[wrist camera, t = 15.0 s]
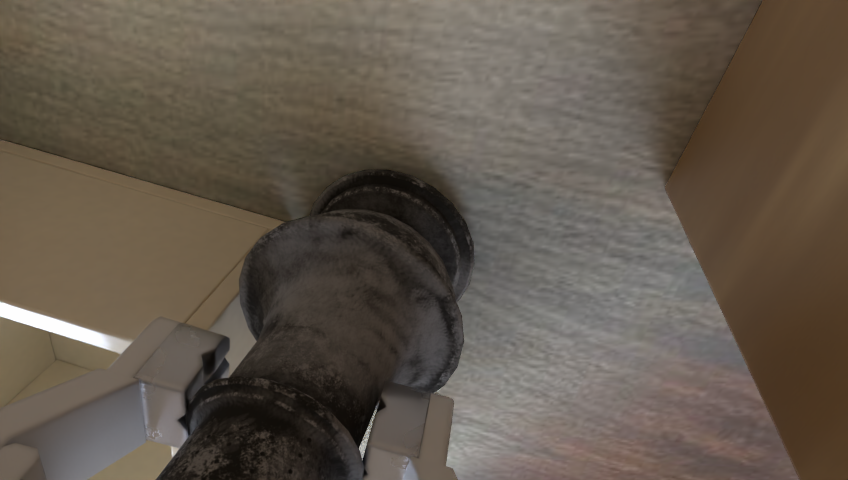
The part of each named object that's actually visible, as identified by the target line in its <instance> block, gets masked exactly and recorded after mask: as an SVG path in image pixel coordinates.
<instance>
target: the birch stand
mask: <svg viewBox="0 0 848 480" xmlns="http://www.w3.org/2000/svg"><path fill="white" fill-rule="evenodd" d="M665 190H666V192H667V194H668V196H669V199H670V201H671V203H672V205H673V207H674V209H675V212H676V214H677V216H678V218H679V220H680V222H681V224H682V227H683V229H684V231H685V233H686V235H687V237H688V240H689V242H690V244H691V246H692V248H693V250H694V253H695V255H696V257H697V259H698V261H699V263H700V266H701V268H702V270H703V272H704V274H705V276H706V278H707V281H708V283H709V285H710V287H711V289H712V291H713V294H714V296H715V298H716V300H717V302H718V304H719V307H720V309H721V311H722V313H723V315H724V317H725V319H726V322H727V324H728V326H729V328H730V330H731V332H732V335H733V337H734V339H735V341H736V343H737V345H738V348H739V350H740V352H741V354H742V356H743V358H744V361H745V363H746V365H747V367H748V369H749V371H750V373H751V376H752V378H753V380H754V382H755V384H756V386H757V389H758V391H759V393H760V395H761V397H762V399H763V402H764V404H765V406H766V408H767V410H768V412H769V415H770V417H771V419H772V421H773V423H774V425H775V427H776V430H777V432H778V434H779V436H780V438H781V440H782V443H783V445H784V447H785V449H786V451H787V453H788V456H789V458H790V460H791V462H792V464H793V466H794V468H795V471H796V473H797V475H798V477H799V479H800V480H848V0H763V1H762V3H761V5H760V7H759V9H758V11H757V13H756V14H755V16H754V18H753V20H752V22H751V24H750V26H749V28H748V30H747V32H746V34H745V35H744V37H743V39H742V41H741V43H740V45H739V47H738V49H737V51H736V53H735V55H734V56H733V58H732V60H731V62H730V64H729V66H728V68H727V70H726V72H725V74H724V75H723V77H722V79H721V81H720V83H719V85H718V87H717V89H716V91H715V93H714V95H713V96H712V98H711V100H710V102H709V104H708V106H707V108H706V110H705V112H704V114H703V116H702V117H701V119H700V121H699V123H698V125H697V127H696V129H695V131H694V133H693V135H692V136H691V138H690V140H689V142H688V144H687V146H686V148H685V150H684V152H683V154H682V156H681V157H680V159H679V161H678V163H677V165H676V167H675V169H674V171H673V173H672V175H671V177H670V178H669V180H668V182H667V184H666V186H665Z"/></svg>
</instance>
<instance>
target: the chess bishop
mask: <svg viewBox="0 0 848 480" xmlns="http://www.w3.org/2000/svg"><path fill="white" fill-rule="evenodd" d="M474 264H475V262H474V246H473V241H472V238H471V236H470V233H469V230H468V227H467V225H466V222H465V221H464V219H463V218H462V217H461V215H460V214H459V212H458V211H457V209H456V208H455V207H454V205H453V204H452V203H451V202H450V201H449V200H448V199H447V198H445V197H444V196H443V195H442V194H441V193H440V192H438V191H437V190H436V189H435V188H434V187H432V186H430V185H428V184H426V183H424V182H422V181H421V180H419V179H417V178H415V177H413V176H410V175H406V174H402V173H398V172H394V171H390V170H364V171H360V172H356V173H353V174H349V175H346V176H343V177H342V178H340V179H339V180H337V181H336V182H334V183H333V184H331V185H330V186H328V187H327V188H326V189H325V190H324V192H323V193H322V194H321V195H320V197H319V198H318V199H317V200H316V202H315V203H314V205H313V208H312V211H311V213H310V216H308V217H304V218H300V219H296V220H293V221H289V222H285V223H282V224H280V225H279V226H277V227H276V228H274V229H273V230H271V231H270V232H268V233H266V234H265V235H263V236H262V237H261V238H260V239H259V240H258V241H257V242H256V244H255V245H254V246H253V248H252V249H251V250H250V252H249V253H248V254H247V256H246V257H245V260H244V263H243V267H242V270H241V274H240V277H239V293H240V305H241V308H242V311H243V314H244V317H245V320H246V323H247V326H248V328H249V330H250V332H251V333H252V335H253V336H254V338H255V340H256V341H257V342H256V343H255V344H254V346H253V347H252V348H251V350H250V351H249V352H248V353H247V355H246V356H245V357H244V359H243V360H242V361H241V363H240V364H239V365H238V366H237V368H236V369H235V370H234V372H233V373H232V374H231V375H230V377H228V378H221V379H216V380H214V381H212V382H210V383H208V384H206V385H204V386H202V387H201V388H200V389H199V390H198V392H197V393H196V394H195V395H194V396H193V397H192V399H191V400H190V401H189V403H188V409H187V412H186V415H185V418H186V425H187V427H188V436H189V437H188V438H187V439H186V441H185V442H184V443H183V445H182V446H181V447H180V448H179V450H178V451H177V452H176V454H175V455H174V456H173V458H172V459H171V460H170V462H169V463H168V464H167V465H166V467H165V468H164V469H163V471H162V472H161V473H160V475H159V476H158V477H157V479H156V480H362V478H363V472H364V467H363V463H362V458H361V454H360V451H359V446H360V444H361V442H362V439H363V437H364V434H365V432H366V430H367V427H368V425H369V422H370V420H371V418H372V415H373V413H374V410H375V409H378V405H379V401H380V398H381V394H382V391H383V388H384V384H385V381H386V380H387V381H390V382H394V383H398V384H402V385H405V386H409V387H413V388H417V389H420V390H424V391H428V392H430V393H434V392H436V391H437V390H439V389H440V388H441V387H443V386H444V385H445V384H446V382H447V381H448V380H449V378H450V377H451V375H452V374H453V373H454V371H455V370H456V368H457V366H458V363H459V359H460V355H461V351H462V348H463V344H464V335H463V323H462V315H461V312H460V310H459V308H458V305H457V303H456V302H457V301H458V300H459V299H460V298H461V296H462V295H463V293H464V292H465V290H466V289H467V287H468V285H469V283H470V280H471V276H472V272H473V268H474Z"/></svg>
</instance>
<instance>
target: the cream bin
mask: <svg viewBox="0 0 848 480" xmlns="http://www.w3.org/2000/svg"><path fill="white" fill-rule="evenodd" d="M282 223H285V222H284V221H281V220H277V219H274V218H270V217H267V216H263V215H260V214H257V213H253V212H250V211H246V210H243V209H239V208H236V207H232V206H229V205H226V204H222V203H219V202H215V201H212V200H208V199H205V198H201V197H198V196H194V195H191V194H188V193H184V192H181V191H177V190H174V189H170V188H167V187H163V186H160V185H157V184H153V183H150V182H146V181H143V180H139V179H136V178H132V177H129V176H125V175H122V174H119V173H115V172H112V171H108V170H105V169H101V168H98V167H94V166H91V165H88V164H84V163H81V162H77V161H74V160H70V159H67V158H63V157H60V156H57V155H53V154H50V153H46V152H43V151H39V150H36V149H32V148H29V147H25V146H22V145H19V144H15V143H12V142H8V141H5V140H1V141H0V408H1V407H4V406H6V405H9V404H11V403H14V402H16V401H19V400H21V399H24V398H26V397H29V396H31V395H34V394H36V393H39V392H41V391H44V390H46V389H49V388H51V387H54V386H56V385H59V384H61V383H64V382H66V381H69V380H71V379H74V378H76V377H79V376H81V375H84V374H86V373H89V372H91V371H94V370H96V369H98V368H100V369H104V370H107V368H108V367H109V366H110V365H111V364H112V363H113V362H114V361H115V360H116V359H117V358H118V357H119V356H120V355H121V354H122V353H123V351H124V350H125V349H126V348H127V347H128V346H129V345H130V344H131V343H132V342H133V341H134V340H135V339H136V338H137V337H138V336H139V335H140V333H141V332H142V331H143V330H144V329H145V328H146V327H147V326H148V325H149V324H150V323H151V322H152V321H153V320H155V319H157V318H159V317H160V316H161V317H164V318H168V319H171V320H174V321H178V322H181V323H185V324H188V325H192V326H195V327H198V328H201V329H205V330H208V331H211V332H214V333H217V334H221V335H224V336H227V337H229V338H230V350H229V351H228V353H227V354H226V356H225V358H226V360H227V361H228V362H229V364H230V366H229V376H228V377H230V375H231V374H232V373H233V372H234V370H235V369H236V368H237V366H238V365H239V364H240V363H241V361H242V360H243V359H244V357H245V356H246V355H247V353H248V352H249V351H250V350H251V348H252V347H253V346H254V344H255V343H256V342H257V341H256V340H255V338H254V336H253V335H252V333H251V332H250V330H249V328H248V326H247V323H246V320H245V317H244V314H243V311H242V308H241V305H240V293H239V277H240V274H241V270H242V267H243V263H244V260H245V257H246V256H247V254H248V253H249V252H250V250H251V249H252V248H253V246H254V245H255V244H256V242H257V241H258V240H259V239H260V238H261V237H262V236H263V235H265V234H266V233H268V232H270V231H271V230H273V229H274V228H276V227H277V226H279V225H280V224H282ZM178 450H179V448H176V447H172V446H168V445H164V444H160V443H156V442H153V441H149V440H146V443H144V444H143V445H141V446H140V447H138V448H136V449H135V450H133V451H132V452H130V453H128V454H127V455H125V456H124V457H122V458H121V459H119V460H117V461H116V462H114V463H113V464H111V465H109V466H108V467H106V468H105V469H103V470H102V471H100V472H98V473H97V474H95V475H94V476H92V477H90V478H89V479H87V480H156V479H157V477H158V476H159V475H160V473H161V472H162V471H163V469H164V468H165V467H166V465H167V464H168V463H169V462H170V460H171V459H172V458H173V456H174V455H175V454H176V452H177V451H178Z"/></svg>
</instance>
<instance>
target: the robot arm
mask: <svg viewBox="0 0 848 480" xmlns="http://www.w3.org/2000/svg"><path fill="white" fill-rule="evenodd" d="M229 350H230V338H229V337H227V336H224V335H221V334H217V333H214V332H211V331H208V330H205V329H201V328H198V327H195V326H192V325H188V324H185V323H181V322H178V321H174V320H171V319H168V318H164V317H161V316H160V317H159V318H157V319H155V320H153V321H152V322H151V323H150V324H149V325H148V326H147V327H146V328H145V329H144V330H143V331H142V332H141V333H140V335H139V336H138V337H137V338H136V339H135V340H134V341H133V342H132V343H131V344H130V345H129V346H128V347H127V348H126V349H125V350H124V351H123V353H122V354H121V355H120V356H119V357H118V358H117V359H116V360H115V361H114V362H113V363H112V364H111V365H110V366H109V367H108V368H107V370H104V369H100V368H98V369H96V370H94V371H91V372H89V373H86V374H84V375H81V376H79V377H76V378H74V379H71V380H69V381H66V382H64V383H61V384H59V385H56V386H54V387H51V388H49V389H46V390H44V391H41V392H39V393H36V394H34V395H31V396H29V397H26V398H24V399H21V400H19V401H16V402H14V403H11V404H9V405H6V406H4V407H1V408H0V480H87V479H89V478H90V477H92V476H94V475H95V474H97V473H98V472H100V471H102V470H103V469H105V468H106V467H108V466H109V465H111V464H113V463H114V462H116V461H117V460H119V459H121V458H122V457H124V456H125V455H127V454H128V453H130V452H132V451H133V450H135V449H136V448H138V447H140V446H141V445H143V444H144V443H146V440H149V441H153V442H156V443H160V444H164V445H168V446H172V447H176V448H180V447H181V446H182V445H183V443H184V442H185V441H186V439H187V438H188V437H189V436H188V427H187V425H186V418H185V415H186V412H187V409H188V403H189V401H190V400H191V399H192V397H193V396H194V395H195V394H196V393H197V392H198V390H199V389H200V388H201V387H202V386H204V385H206V384H208V383H210V382H212V381H214V380H216V379H221V378H228V376H229V366H230V364H229V362H228V361H227V360H226V358H225V356H226V354H227V353H228V351H229ZM453 408H454V400H453V399H452V398H449V397H445V396H441V395H438V394H434V393H430V392H428V391H424V390H420V389H417V388H413V387H409V386H405V385H402V384H398V383H394V382H390V381H387V380H386V381H385V384H384V388H383V391H382V394H381V398H380V401H379V405H378V409H377V412H376V414H375V418H374V421H373V425H372V428H371V432H370V435H369V439H368V442H367V446H366V450H365V453H364V457H363V461H362V463H363V467H364V472H363V478H362V480H458V479H457V477H456V475H455V472H454V470H453V468H450V467H447V466H446V460H447V453H448V445H449V438H450V431H451V423H452V416H453Z"/></svg>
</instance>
